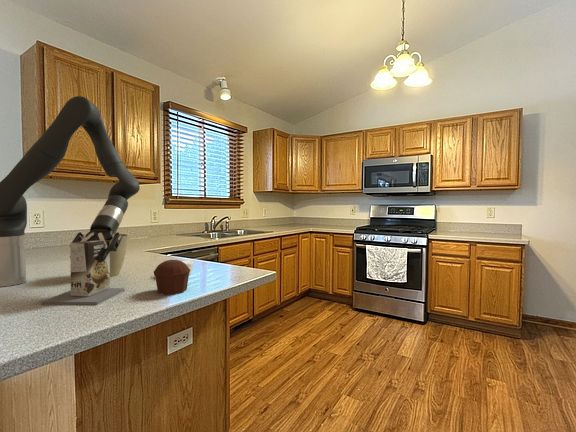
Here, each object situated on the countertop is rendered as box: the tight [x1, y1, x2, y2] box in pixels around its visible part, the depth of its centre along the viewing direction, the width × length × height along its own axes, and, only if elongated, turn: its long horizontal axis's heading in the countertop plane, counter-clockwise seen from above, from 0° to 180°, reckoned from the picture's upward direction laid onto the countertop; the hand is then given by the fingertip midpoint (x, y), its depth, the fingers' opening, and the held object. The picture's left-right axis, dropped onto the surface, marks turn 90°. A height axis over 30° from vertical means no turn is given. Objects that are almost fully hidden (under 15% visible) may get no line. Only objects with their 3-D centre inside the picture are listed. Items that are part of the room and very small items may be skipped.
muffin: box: [153, 259, 191, 296], centre depth 100 cm, size 12×11×10 cm
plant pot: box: [109, 233, 130, 278], centre depth 122 cm, size 15×15×16 cm
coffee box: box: [69, 240, 111, 297], centre depth 96 cm, size 9×6×16 cm
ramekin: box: [178, 259, 194, 276], centre depth 123 cm, size 11×11×5 cm
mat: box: [40, 287, 125, 306], centre depth 94 cm, size 16×14×1 cm
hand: (86, 260), depth 94 cm, fingers open, 8 cm apart
